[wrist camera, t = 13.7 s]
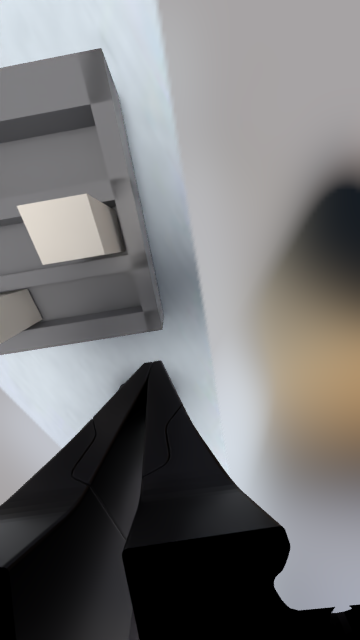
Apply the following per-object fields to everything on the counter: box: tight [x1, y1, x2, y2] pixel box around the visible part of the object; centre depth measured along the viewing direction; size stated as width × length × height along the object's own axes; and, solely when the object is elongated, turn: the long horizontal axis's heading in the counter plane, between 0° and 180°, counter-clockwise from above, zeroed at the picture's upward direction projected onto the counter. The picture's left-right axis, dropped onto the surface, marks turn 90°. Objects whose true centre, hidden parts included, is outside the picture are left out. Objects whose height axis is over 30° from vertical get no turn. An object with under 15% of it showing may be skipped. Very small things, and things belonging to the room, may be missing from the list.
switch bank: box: [0, 48, 164, 355], centre depth 15 cm, size 18×20×4 cm
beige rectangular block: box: [17, 193, 125, 265], centre depth 13 cm, size 3×4×5 cm
